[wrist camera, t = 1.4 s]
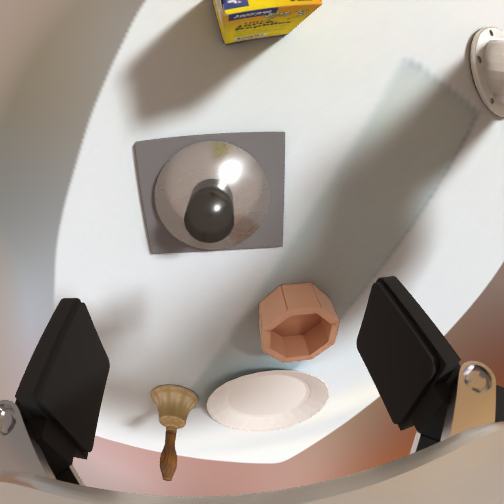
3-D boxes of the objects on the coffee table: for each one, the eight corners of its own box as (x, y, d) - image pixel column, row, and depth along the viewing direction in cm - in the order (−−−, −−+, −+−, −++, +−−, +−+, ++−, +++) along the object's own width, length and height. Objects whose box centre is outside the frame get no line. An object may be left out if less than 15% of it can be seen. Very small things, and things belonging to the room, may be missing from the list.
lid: (268, 138, 26) (279, 149, 21) (268, 243, 32) (276, 274, 27) (150, 145, 26) (132, 159, 21) (164, 248, 31) (154, 280, 26)
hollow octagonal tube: (332, 280, 36) (343, 304, 32) (322, 332, 40) (331, 356, 36) (258, 286, 35) (262, 311, 31) (258, 338, 40) (262, 364, 36)
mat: (283, 131, 27) (285, 132, 26) (281, 243, 33) (282, 246, 32) (136, 141, 26) (134, 142, 25) (153, 250, 32) (152, 253, 31)
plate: (210, 355, 41) (210, 367, 39) (343, 359, 45) (347, 369, 43) (203, 420, 51) (203, 429, 50) (305, 420, 55) (307, 429, 53)
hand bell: (151, 404, 48) (142, 482, 34) (151, 380, 44) (138, 468, 30) (195, 411, 49) (194, 489, 35) (201, 388, 45) (199, 476, 31)
